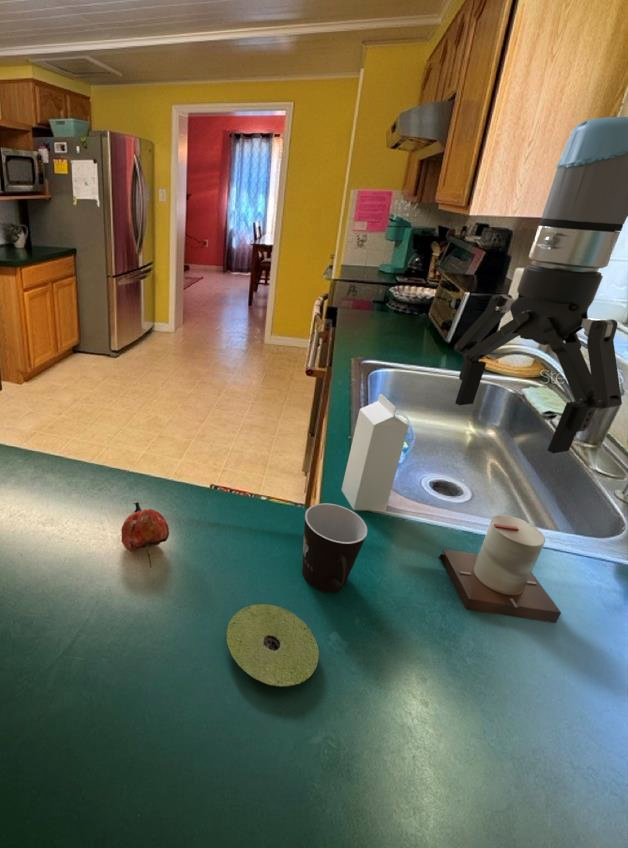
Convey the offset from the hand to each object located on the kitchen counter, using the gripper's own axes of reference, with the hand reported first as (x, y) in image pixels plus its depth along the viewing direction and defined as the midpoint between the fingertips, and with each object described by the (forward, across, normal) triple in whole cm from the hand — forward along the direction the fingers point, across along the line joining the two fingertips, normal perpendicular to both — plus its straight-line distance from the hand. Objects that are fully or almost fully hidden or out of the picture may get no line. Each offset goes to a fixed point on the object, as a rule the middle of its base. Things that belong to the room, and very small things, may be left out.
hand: (506, 425), depth 64 cm
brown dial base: (+26, +4, +3) cm, 26 cm away
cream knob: (+24, +4, +3) cm, 24 cm away
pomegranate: (+26, -17, -45) cm, 55 cm away
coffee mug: (+26, -4, -22) cm, 34 cm away
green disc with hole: (+26, +4, -35) cm, 44 cm away
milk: (+26, -17, -4) cm, 31 cm away
